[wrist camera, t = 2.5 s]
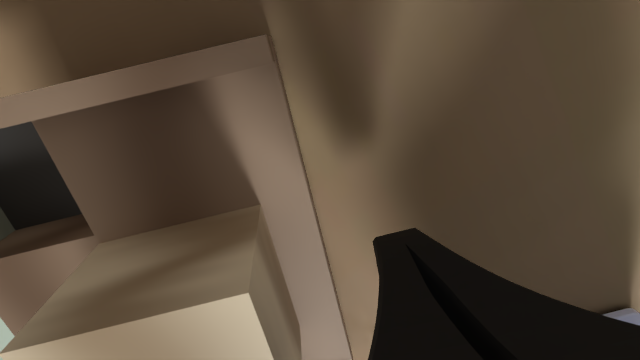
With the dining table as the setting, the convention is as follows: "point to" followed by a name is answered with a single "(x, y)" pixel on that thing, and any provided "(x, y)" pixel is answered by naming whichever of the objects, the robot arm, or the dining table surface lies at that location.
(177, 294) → the maple block
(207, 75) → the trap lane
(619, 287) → the dining table surface
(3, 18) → the dining table surface
